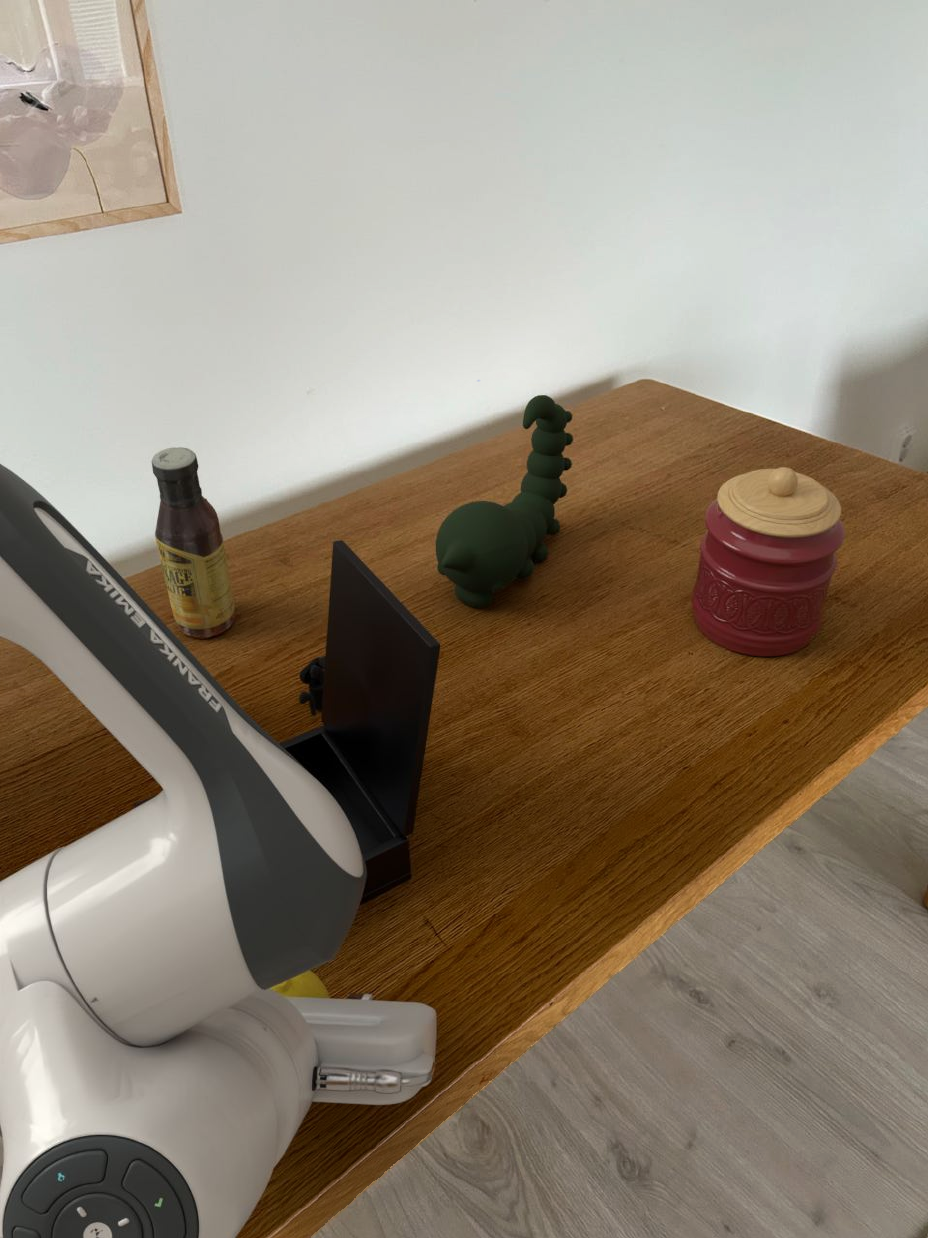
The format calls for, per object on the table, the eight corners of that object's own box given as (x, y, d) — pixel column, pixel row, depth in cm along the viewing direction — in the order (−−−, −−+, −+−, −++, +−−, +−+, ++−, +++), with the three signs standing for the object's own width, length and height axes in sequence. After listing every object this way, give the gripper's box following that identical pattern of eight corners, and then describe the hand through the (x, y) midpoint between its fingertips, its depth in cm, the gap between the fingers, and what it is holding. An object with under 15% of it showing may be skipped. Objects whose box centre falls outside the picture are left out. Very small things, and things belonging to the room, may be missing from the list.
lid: (430, 646, 64) (441, 644, 64) (332, 541, 73) (342, 539, 74) (404, 837, 73) (413, 834, 74) (320, 721, 83) (329, 718, 83)
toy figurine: (513, 523, 119) (402, 621, 101) (523, 372, 108) (401, 451, 90) (584, 544, 115) (482, 649, 97) (601, 390, 105) (491, 476, 87)
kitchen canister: (719, 668, 95) (750, 515, 84) (670, 590, 105) (692, 444, 94) (842, 649, 97) (887, 497, 86) (783, 574, 107) (817, 429, 96)
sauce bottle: (165, 622, 102) (121, 454, 90) (217, 597, 106) (181, 431, 93) (198, 652, 99) (156, 480, 86) (251, 625, 102) (218, 456, 89)
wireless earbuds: (309, 728, 90) (302, 687, 87) (287, 718, 91) (280, 678, 88) (354, 683, 95) (349, 643, 91) (333, 674, 96) (327, 634, 92)
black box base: (209, 982, 70) (197, 943, 67) (146, 843, 80) (133, 804, 77) (412, 878, 77) (408, 839, 74) (331, 762, 86) (325, 723, 83)
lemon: (275, 1103, 63) (256, 1039, 58) (243, 1034, 67) (223, 968, 62) (352, 1058, 65) (340, 993, 60) (316, 994, 69) (303, 927, 64)
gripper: (431, 1023, 50) (449, 960, 64) (41, 1004, 51) (141, 946, 65) (427, 1153, 49) (446, 1061, 63) (32, 1132, 50) (135, 1045, 64)
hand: (289, 1002), depth 64 cm, fingers open, 8 cm apart
